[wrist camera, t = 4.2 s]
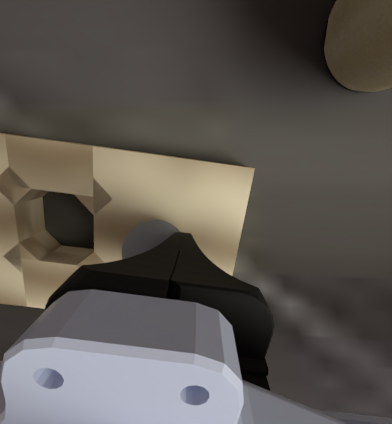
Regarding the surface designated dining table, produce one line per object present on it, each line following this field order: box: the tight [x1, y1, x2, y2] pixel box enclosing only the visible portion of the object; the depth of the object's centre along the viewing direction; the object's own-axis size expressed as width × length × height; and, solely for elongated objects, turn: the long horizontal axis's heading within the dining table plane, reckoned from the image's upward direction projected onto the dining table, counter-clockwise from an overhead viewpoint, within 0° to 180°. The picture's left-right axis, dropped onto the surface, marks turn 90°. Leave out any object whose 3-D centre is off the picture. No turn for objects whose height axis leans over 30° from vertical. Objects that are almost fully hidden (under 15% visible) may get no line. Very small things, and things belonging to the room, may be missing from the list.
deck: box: [0, 133, 255, 309], centre depth 14 cm, size 12×17×2 cm
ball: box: [122, 220, 180, 259], centre depth 11 cm, size 4×4×4 cm
